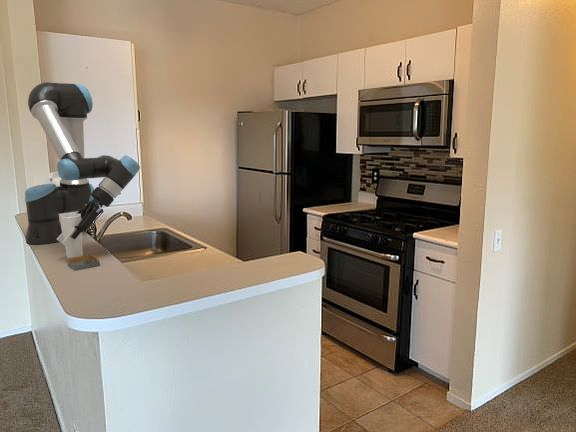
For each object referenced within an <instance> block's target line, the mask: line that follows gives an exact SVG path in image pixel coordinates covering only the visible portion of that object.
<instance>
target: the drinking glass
mask: <svg viewBox="0 0 576 432" xmlns="http://www.w3.org/2000/svg"><path fill="white" fill-rule="evenodd" d="M81 220H82V218H81V214H65V215H61V216H60V222H61V230H62V234H63V239H64V240H65V238H66V237H67V236H68V235H69V234H70V233H71V231H72V230H73V229H74V226H78V224H79V223H80V222H81ZM75 229H76V228H75ZM64 249H65V254H66V258H72V257H78V256H83V255H84V251H83V232H82V233H81V234H80V235H79V236H78V238H77V239H76V240H75V241H74V242H73V243H72V245H71V246H70V247H69V248H68V247H67V246H65V245H64Z"/></svg>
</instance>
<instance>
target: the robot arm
mask: <svg viewBox="0 0 576 432" xmlns="http://www.w3.org/2000/svg"><path fill="white" fill-rule="evenodd" d="M27 98H28V100H27V105H28V110H29V112H30V113H31V115H32V117H33V118H35V119H36V120H37V121H38V122H39V124H40V126H41V128H42V130H43V131H44V134H45V136H46V137H47V139H48V141H49V143H50V145H51V147H52V148H53V150H54V152H55V154H56V156H57V158H58V162H57V164H56V166H57V167H56V170H57V172H58V174H59V176H60V178H61V180H60V186H58V187H56V185H55V184H45V183H44V184H39V185H35V186H31V187H29V188H27V189H26V190H25V191H24V196H25V197H24V201H25V206H26V213H27V215H26V216H27V222H28V225H27V228H26V229H27V230H26V233H25V234H26V235H25V244H28V245H48V244H53V243H58V242H60V243H61V244H62V245H64V247H65V246H67V247H68V248H69V247H70V246H71V245H72V243H73V242H74V241H75V240H76V239H77V238H78V236H79V235H80V234H81V233H82V234H83V233H86V232H87V231H88V229H89V228H90V227H91V225H93V224H94V222H95V221H96V220H97V218H98V217H99V216H100V214H102V213H103V212H104V209H103V206H104V207H110V206H111V205H112V203H113V202H114V201H115V200H114V199H116V198H117V197H118V196H120V195H122V191H123V190H124V189H125V188H126V187H127V186H128V184H130V182H131V180H133V179H134V178H135V176H136V175H137V174H138V172H139V171H140V169H141V165H140V164H139V162H137V161H136V160H135V159H133V158H132V157H131V156H129V155H127V154H126V155H123V156H122V157H121V158H120V159H117V158H116V157H113V156H111V155H107V154H101V155H99V156H97V157H85V134H84V122H85V121H86V120H87V119H88V115H89V114H90V113H91V112H92V111H93V110H92V109H93V99H92V95H91V92H90V91H89V89H88V88H87V87H86V86H85V85H83V84H77V83H65V82H64V83H63V82H59V83H58V82H50V81H49V82H45V81H44V82H41V83H39V84H37V85H35V86H34V87H33V88H32V89H31V91H30V92H29V95H28V97H27ZM98 178H99V179H101V178H103V179H102V180H101V181H100V182H99V183H98V184H97V187H94V186H93V185H92V184H91V183H90V181H89V179H98ZM69 212H76V214H81V218H82V220H81V222H80V223H79V224H78V226H74V229H73V230H72V231H71V233H70V234H69V235H68V236H67V237H66V238H65V240H64V239H63V234H62V230H61V223H60V219H59V214H61V213H69ZM75 228H76V229H75Z"/></svg>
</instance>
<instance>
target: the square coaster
mask: <svg viewBox="0 0 576 432" xmlns="http://www.w3.org/2000/svg"><path fill="white" fill-rule="evenodd" d="M66 258H67V257H66ZM66 260H67V265H68V267H69V268H71V269H72V270H73V271H79V270H84V269H89V268H95V267H100V266H101V263H100V257H98V256H96V255H95V254H92V253H90V254H85V255H84V254H83V256H78V257H72V258H67V259H66Z"/></svg>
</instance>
